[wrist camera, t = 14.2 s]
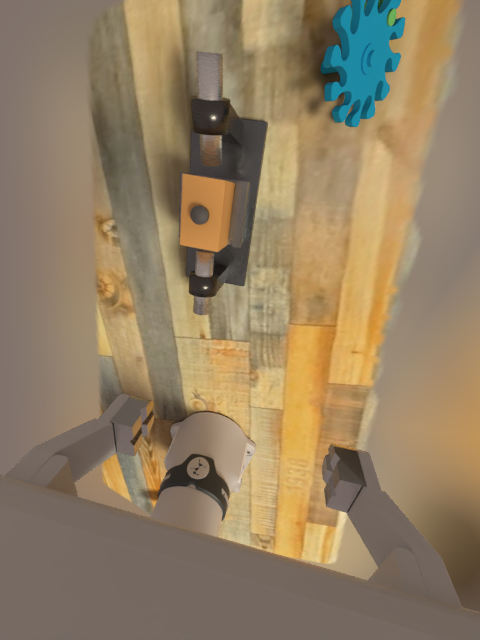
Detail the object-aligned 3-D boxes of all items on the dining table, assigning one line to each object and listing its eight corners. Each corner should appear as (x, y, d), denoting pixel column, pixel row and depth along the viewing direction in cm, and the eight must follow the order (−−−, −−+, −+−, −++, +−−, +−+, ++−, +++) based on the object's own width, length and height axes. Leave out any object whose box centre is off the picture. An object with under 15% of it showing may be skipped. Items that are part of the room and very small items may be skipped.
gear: (365, 147, 28) (318, 83, 21) (324, 144, 32) (272, 89, 25) (429, 23, 25) (397, -102, 18) (374, 36, 28) (330, -62, 22)
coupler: (198, 177, 30) (179, 172, 25) (235, 183, 29) (223, 179, 24) (194, 238, 33) (176, 245, 28) (227, 244, 33) (215, 253, 27)
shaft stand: (242, 299, 40) (227, 330, 31) (188, 289, 41) (157, 316, 32) (272, 95, 29) (263, 44, 19) (196, 87, 30) (151, 34, 20)
